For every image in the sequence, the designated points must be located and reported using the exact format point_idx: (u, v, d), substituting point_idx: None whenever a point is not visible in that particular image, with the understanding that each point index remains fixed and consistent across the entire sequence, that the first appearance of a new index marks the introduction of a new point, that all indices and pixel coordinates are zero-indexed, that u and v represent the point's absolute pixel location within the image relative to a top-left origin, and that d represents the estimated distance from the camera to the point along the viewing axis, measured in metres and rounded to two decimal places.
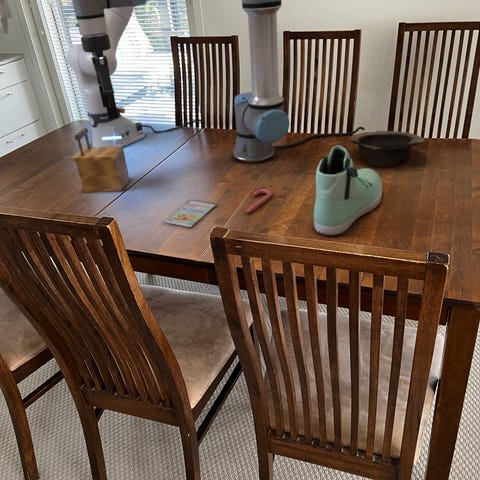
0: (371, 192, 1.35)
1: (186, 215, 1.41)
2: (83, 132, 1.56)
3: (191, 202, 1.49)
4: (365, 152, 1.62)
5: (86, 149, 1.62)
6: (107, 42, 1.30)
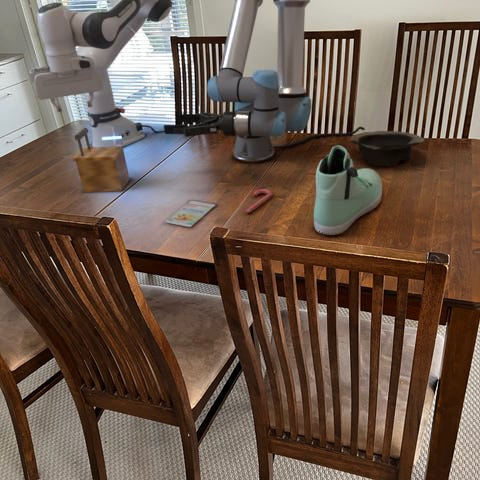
0: (371, 192, 1.35)
1: (186, 215, 1.41)
2: (83, 132, 1.56)
3: (191, 202, 1.49)
4: (365, 152, 1.62)
5: (86, 149, 1.62)
6: None
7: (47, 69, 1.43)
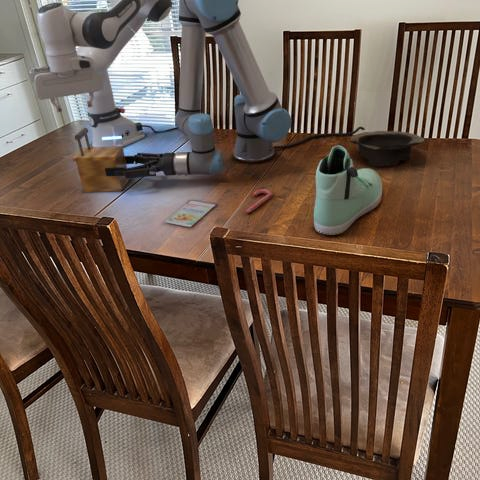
0: (371, 192, 1.35)
1: (186, 215, 1.41)
2: (83, 132, 1.56)
3: (191, 202, 1.49)
4: (365, 152, 1.62)
5: (86, 149, 1.62)
6: None
7: (47, 69, 1.43)
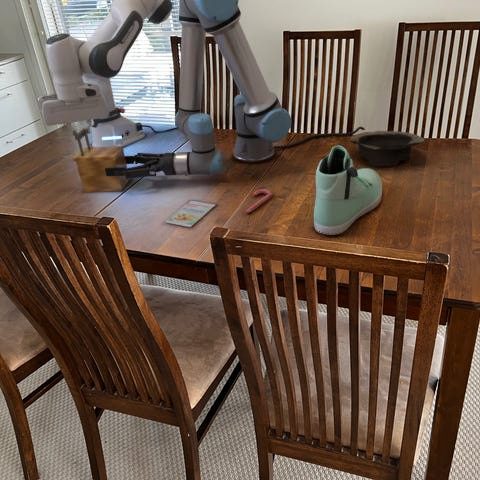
0: (371, 192, 1.35)
1: (186, 215, 1.41)
2: (83, 132, 1.56)
3: (191, 202, 1.49)
4: (365, 152, 1.62)
5: (86, 149, 1.62)
6: None
7: (54, 97, 1.48)
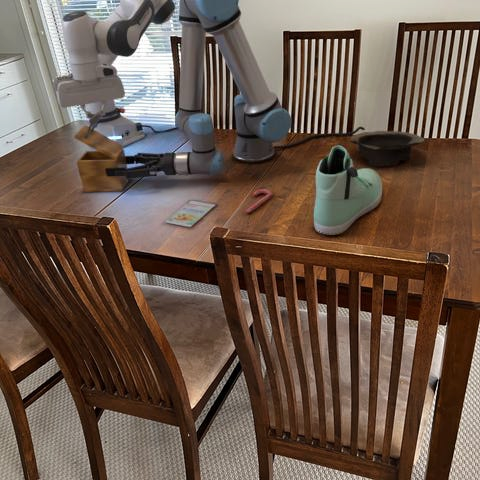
0: (371, 192, 1.35)
1: (186, 215, 1.41)
2: (98, 118, 1.52)
3: (191, 202, 1.49)
4: (365, 152, 1.62)
5: None
6: None
7: (70, 77, 1.44)
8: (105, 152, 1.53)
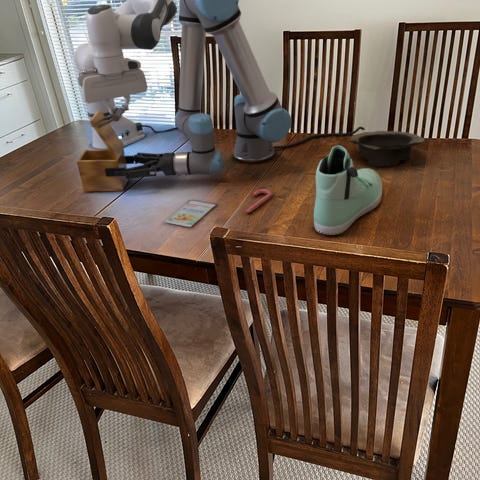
0: (371, 192, 1.35)
1: (186, 215, 1.41)
2: None
3: (191, 202, 1.49)
4: (365, 152, 1.62)
5: (102, 117, 1.54)
6: None
7: (95, 72, 1.41)
8: (110, 149, 1.52)
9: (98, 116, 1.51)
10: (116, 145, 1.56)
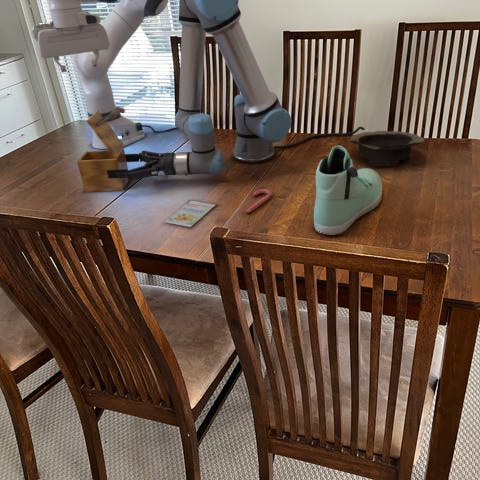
0: (371, 192, 1.35)
1: (186, 215, 1.41)
2: (118, 114, 1.52)
3: (191, 202, 1.49)
4: (365, 152, 1.62)
5: (100, 117, 1.56)
6: None
7: (51, 25, 1.36)
8: (109, 148, 1.53)
9: (96, 116, 1.53)
10: (115, 144, 1.57)
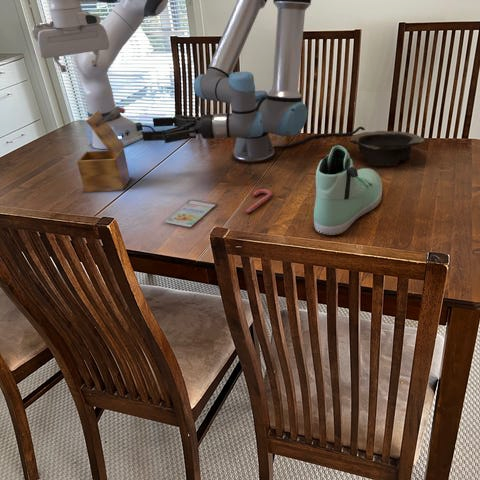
0: (371, 192, 1.35)
1: (186, 215, 1.41)
2: (117, 114, 1.52)
3: (191, 202, 1.49)
4: (365, 152, 1.62)
5: (100, 117, 1.56)
6: None
7: (51, 25, 1.36)
8: (109, 148, 1.53)
9: (96, 116, 1.53)
10: (115, 144, 1.57)
